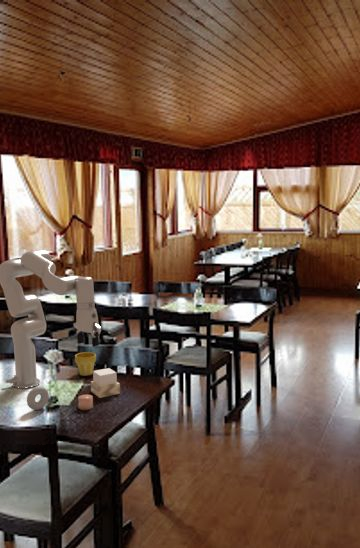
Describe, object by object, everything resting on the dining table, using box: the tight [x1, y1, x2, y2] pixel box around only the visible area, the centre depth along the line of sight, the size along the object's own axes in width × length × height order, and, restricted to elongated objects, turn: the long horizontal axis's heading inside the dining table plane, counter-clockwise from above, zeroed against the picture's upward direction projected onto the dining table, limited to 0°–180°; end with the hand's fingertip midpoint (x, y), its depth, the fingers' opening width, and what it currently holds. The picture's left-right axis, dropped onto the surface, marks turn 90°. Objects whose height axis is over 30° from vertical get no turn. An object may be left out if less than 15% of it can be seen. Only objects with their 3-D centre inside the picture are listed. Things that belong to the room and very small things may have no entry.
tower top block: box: [92, 367, 118, 387], centre depth 250 cm, size 8×8×5 cm
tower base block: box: [90, 380, 121, 399], centre depth 250 cm, size 10×10×5 cm
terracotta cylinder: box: [77, 394, 94, 411], centre depth 233 cm, size 6×6×4 cm
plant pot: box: [74, 351, 97, 377], centre depth 276 cm, size 10×10×10 cm
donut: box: [26, 385, 50, 411], centre depth 230 cm, size 10×4×10 cm, turn 135°
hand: (88, 344), depth 238 cm, fingers open, 9 cm apart
